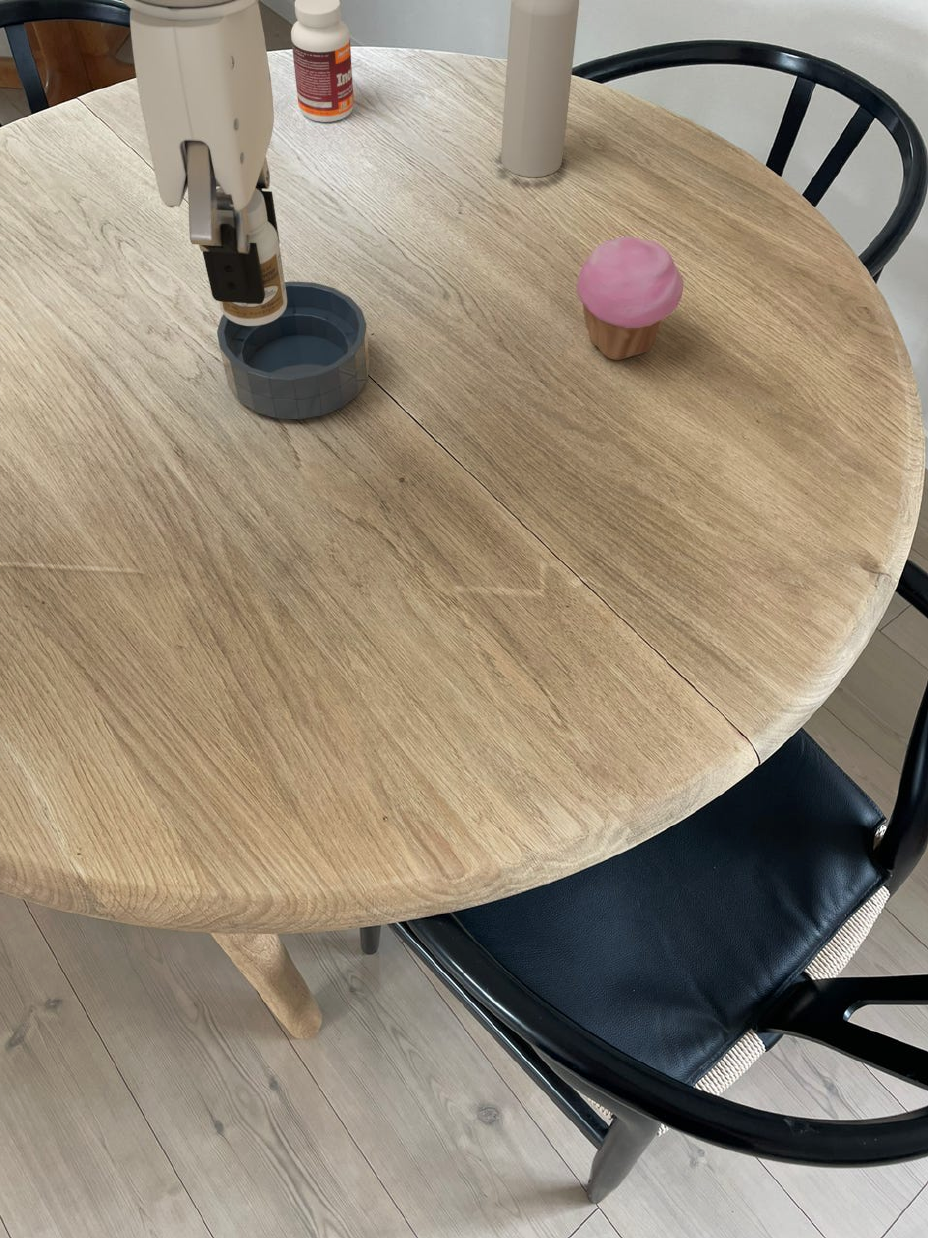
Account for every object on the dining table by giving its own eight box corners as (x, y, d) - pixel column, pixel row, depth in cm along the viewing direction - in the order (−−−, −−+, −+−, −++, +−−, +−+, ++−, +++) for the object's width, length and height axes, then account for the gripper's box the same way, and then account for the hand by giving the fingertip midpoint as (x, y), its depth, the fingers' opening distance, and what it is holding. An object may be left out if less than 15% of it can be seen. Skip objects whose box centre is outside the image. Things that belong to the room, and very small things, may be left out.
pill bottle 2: (350, 125, 107) (342, 18, 98) (294, 122, 107) (282, 14, 98) (357, 96, 111) (351, -11, 101) (303, 92, 111) (292, -14, 102)
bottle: (515, 136, 107) (538, -180, 84) (571, 152, 105) (610, -165, 82) (490, 166, 103) (506, -155, 80) (547, 183, 102) (581, -139, 79)
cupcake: (685, 357, 87) (711, 261, 79) (607, 391, 85) (626, 295, 76) (625, 301, 91) (644, 204, 83) (549, 332, 89) (561, 235, 80)
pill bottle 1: (225, 333, 63) (202, 226, 56) (217, 290, 65) (193, 183, 59) (293, 322, 64) (277, 215, 57) (282, 281, 66) (266, 174, 59)
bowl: (216, 420, 81) (204, 374, 77) (241, 324, 88) (232, 277, 84) (361, 428, 81) (357, 382, 77) (375, 331, 88) (372, 285, 84)
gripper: (153, -123, 52) (216, 193, 67) (59, 32, 42) (157, 359, 58) (293, -115, 52) (325, 200, 67) (230, 42, 42) (283, 367, 57)
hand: (247, 270), depth 62 cm, fingers closed on pill bottle 1, 4 cm apart
